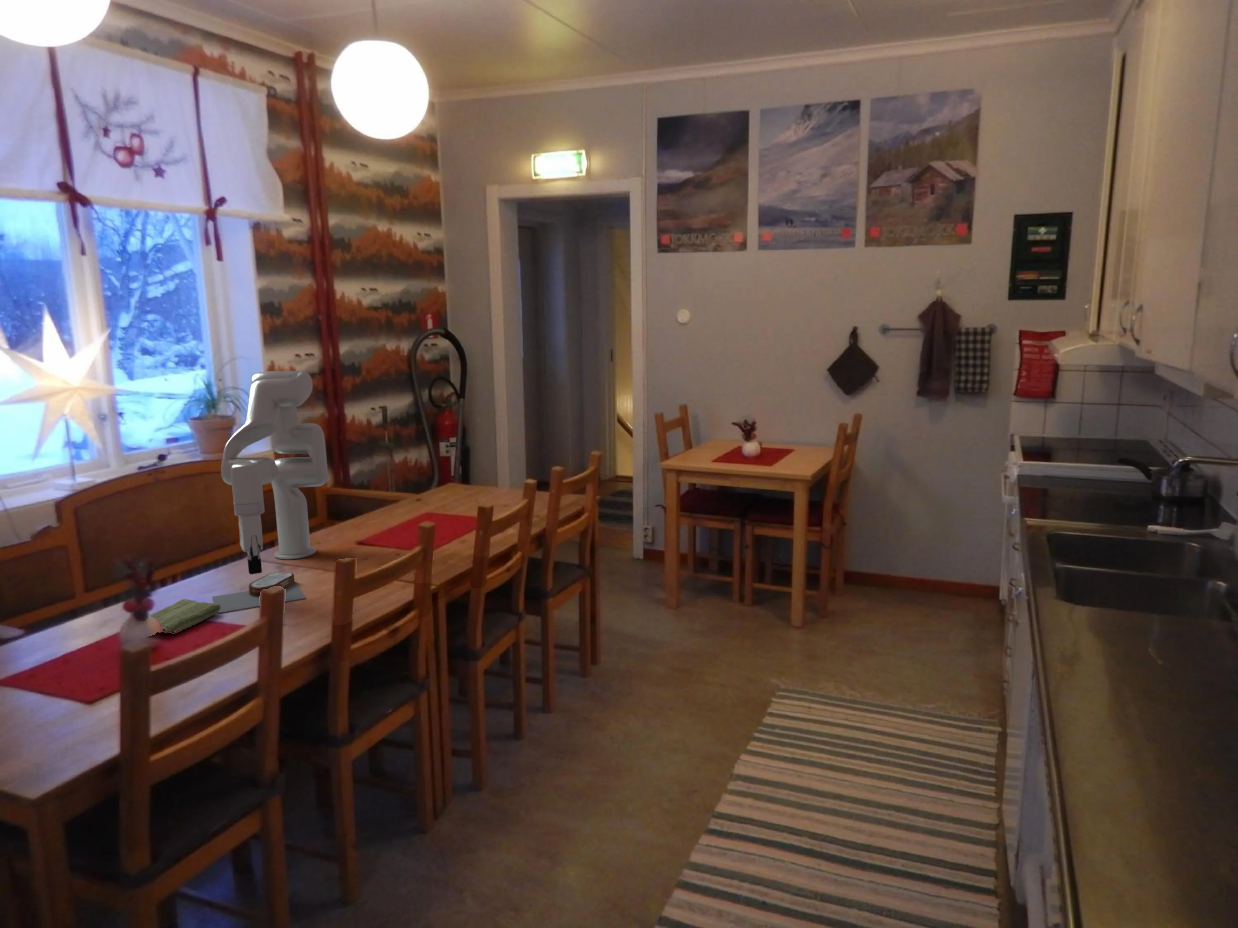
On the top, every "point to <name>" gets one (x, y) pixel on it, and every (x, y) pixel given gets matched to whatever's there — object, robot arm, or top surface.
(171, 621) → the washcloth
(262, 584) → the tin
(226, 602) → the mat
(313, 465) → the robot arm
